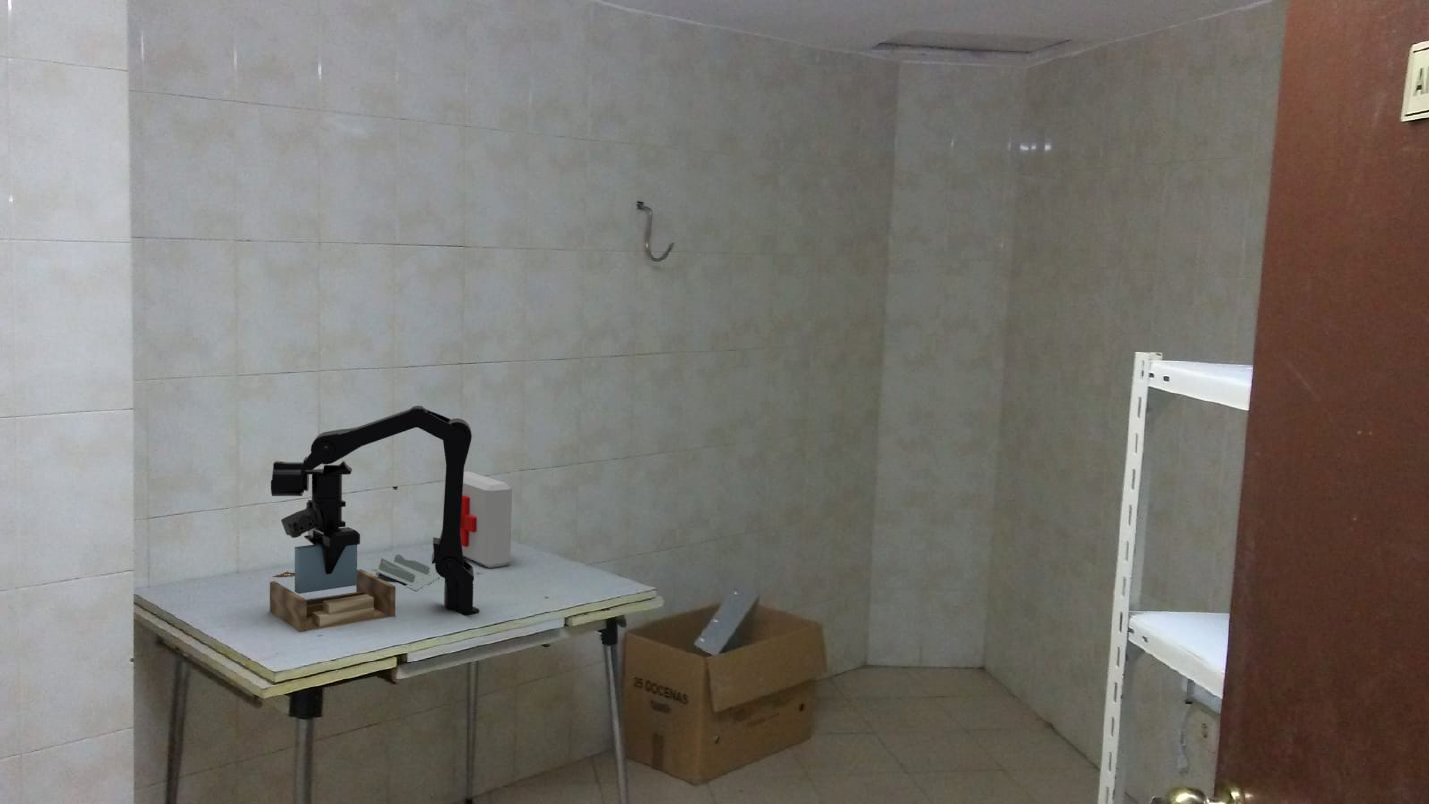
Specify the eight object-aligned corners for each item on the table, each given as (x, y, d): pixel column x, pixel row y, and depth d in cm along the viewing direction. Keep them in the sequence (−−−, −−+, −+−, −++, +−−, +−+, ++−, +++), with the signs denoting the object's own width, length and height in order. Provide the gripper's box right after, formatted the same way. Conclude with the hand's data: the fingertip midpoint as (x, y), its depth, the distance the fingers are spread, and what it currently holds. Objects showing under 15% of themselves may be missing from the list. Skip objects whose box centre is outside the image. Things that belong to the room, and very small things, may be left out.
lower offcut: (374, 617, 231) (374, 608, 231) (319, 627, 224) (319, 616, 224) (366, 613, 234) (366, 603, 234) (312, 622, 227) (312, 612, 227)
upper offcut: (373, 607, 231) (373, 597, 231) (329, 614, 225) (329, 604, 225) (367, 604, 234) (367, 594, 233) (323, 611, 228) (323, 601, 227)
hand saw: (230, 601, 243) (230, 598, 243) (212, 599, 244) (212, 596, 244) (305, 575, 266) (305, 572, 266) (289, 573, 267) (289, 570, 267)
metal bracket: (365, 562, 257) (397, 547, 271) (358, 586, 258) (390, 570, 272) (423, 586, 254) (452, 569, 269) (416, 610, 255) (445, 592, 270)
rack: (395, 620, 233) (395, 586, 233) (301, 636, 221) (301, 600, 220) (360, 601, 245) (361, 569, 245) (269, 616, 233) (269, 581, 232)
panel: (356, 585, 238) (357, 541, 237) (298, 593, 230) (298, 549, 229) (352, 583, 239) (353, 539, 238) (294, 591, 232) (294, 546, 231)
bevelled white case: (440, 552, 291) (442, 472, 289) (469, 548, 296) (471, 470, 294) (482, 570, 275) (484, 486, 273) (512, 566, 280) (514, 483, 278)
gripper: (268, 491, 234) (268, 568, 236) (305, 508, 220) (305, 589, 222) (323, 487, 242) (322, 561, 243) (361, 502, 228) (361, 580, 229)
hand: (326, 572), depth 234 cm, fingers closed on panel, 2 cm apart
